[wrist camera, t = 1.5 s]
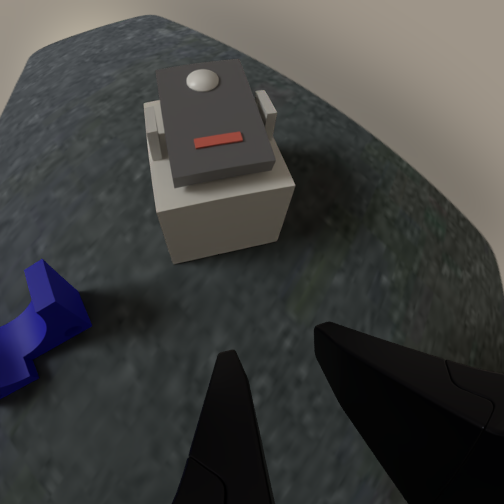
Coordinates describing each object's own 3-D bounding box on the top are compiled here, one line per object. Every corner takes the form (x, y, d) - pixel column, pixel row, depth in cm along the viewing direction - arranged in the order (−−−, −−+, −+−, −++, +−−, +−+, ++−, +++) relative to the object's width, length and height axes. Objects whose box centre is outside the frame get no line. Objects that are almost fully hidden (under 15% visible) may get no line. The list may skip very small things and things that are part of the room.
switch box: (277, 241, 25) (304, 158, 16) (173, 264, 23) (148, 185, 15) (242, 147, 29) (251, 61, 20) (156, 163, 27) (139, 77, 19)
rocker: (271, 170, 18) (276, 159, 17) (174, 188, 17) (172, 177, 16) (237, 70, 20) (239, 57, 18) (157, 82, 19) (155, 68, 17)
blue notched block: (-8, 403, 16) (-57, 396, 11) (-23, 354, 18) (-69, 336, 12) (101, 344, 20) (63, 324, 15) (79, 292, 22) (42, 258, 16)
